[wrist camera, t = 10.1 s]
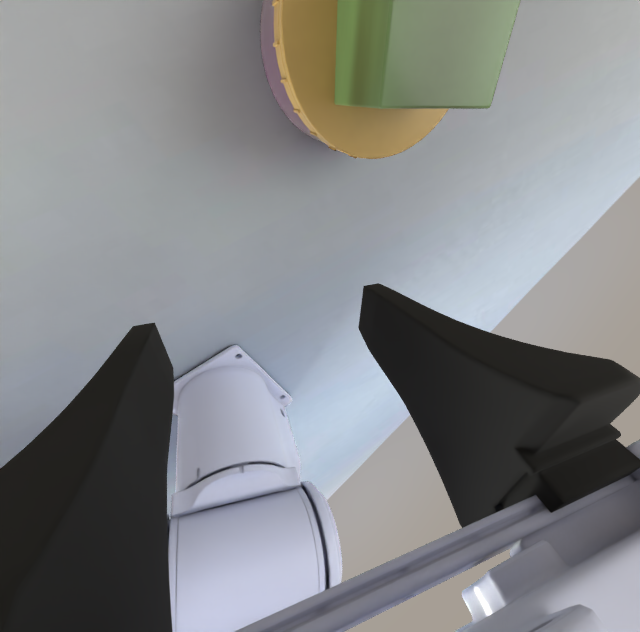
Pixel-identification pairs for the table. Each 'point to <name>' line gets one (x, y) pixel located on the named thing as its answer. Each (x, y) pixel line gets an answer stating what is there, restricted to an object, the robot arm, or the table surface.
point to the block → (421, 52)
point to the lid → (319, 87)
